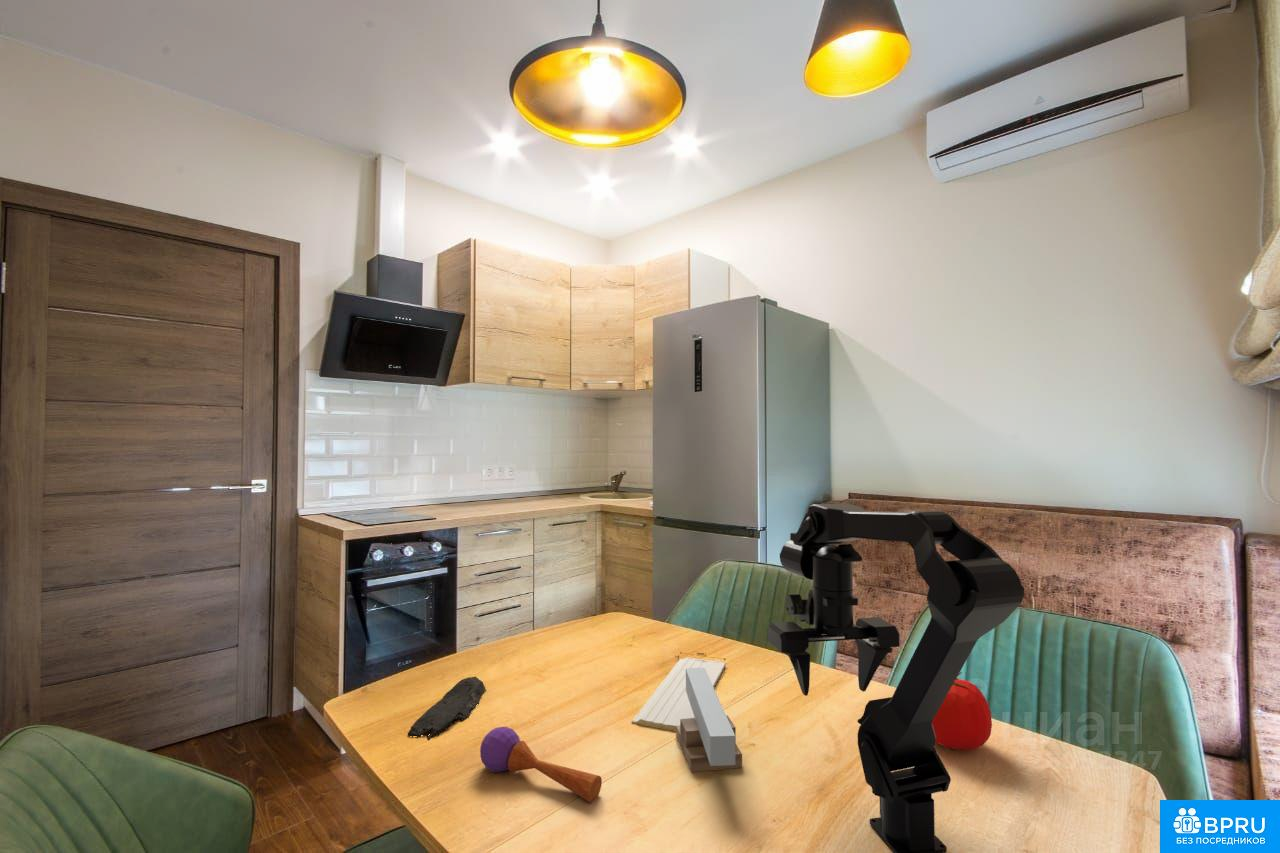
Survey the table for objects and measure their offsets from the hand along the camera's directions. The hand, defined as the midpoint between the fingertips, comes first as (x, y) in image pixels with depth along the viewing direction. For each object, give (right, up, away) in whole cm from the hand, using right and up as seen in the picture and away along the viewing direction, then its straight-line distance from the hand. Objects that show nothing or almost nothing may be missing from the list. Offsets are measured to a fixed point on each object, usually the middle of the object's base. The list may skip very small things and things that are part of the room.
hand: (833, 692), depth 83 cm
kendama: (-44, -12, -2) cm, 46 cm away
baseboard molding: (-21, -14, +28) cm, 38 cm away
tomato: (+22, -13, +8) cm, 27 cm away
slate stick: (-18, -8, +6) cm, 21 cm away
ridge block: (-18, -12, +6) cm, 23 cm away
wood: (-63, -13, +20) cm, 68 cm away
